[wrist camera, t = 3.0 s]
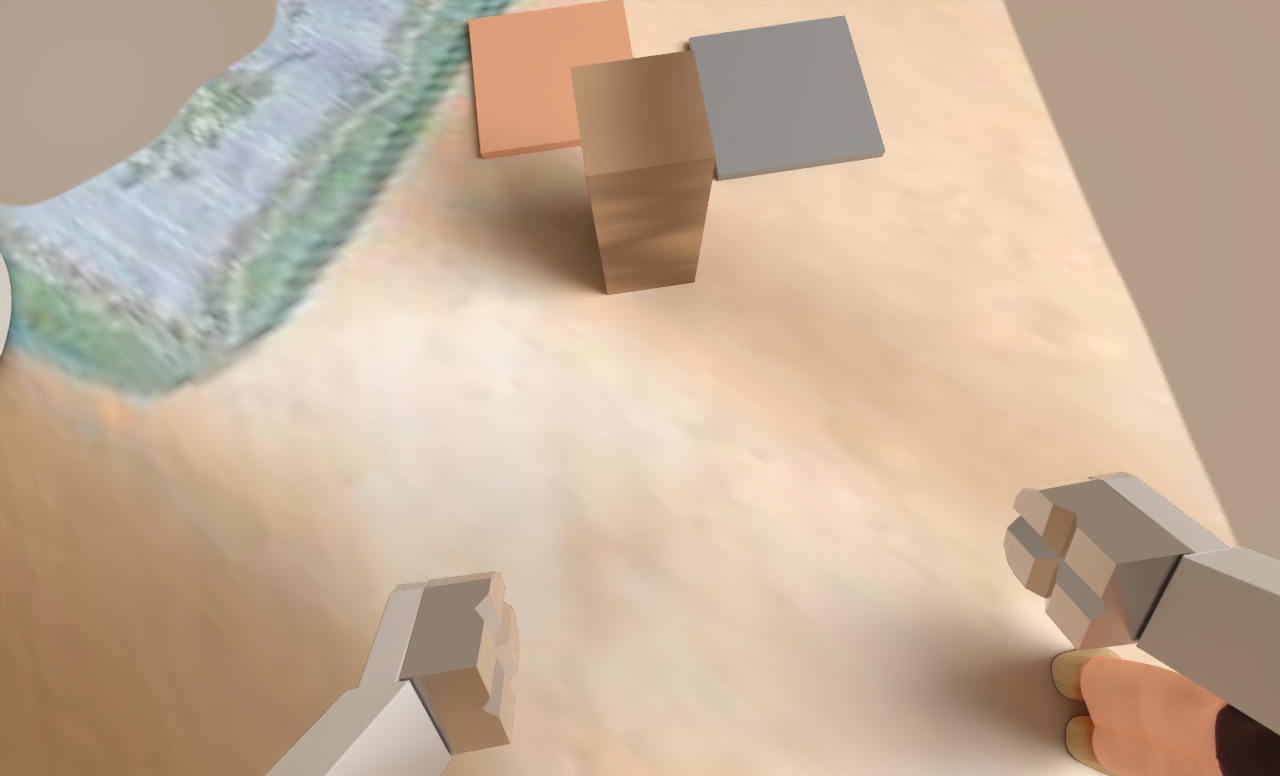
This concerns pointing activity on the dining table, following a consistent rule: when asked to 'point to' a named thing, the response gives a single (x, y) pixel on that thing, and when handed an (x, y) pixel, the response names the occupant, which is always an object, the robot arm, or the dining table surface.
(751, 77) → the slate tile
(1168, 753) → the grandmother figurine
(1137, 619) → the robot arm
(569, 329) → the dining table surface
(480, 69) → the terracotta tile
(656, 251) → the walnut block
